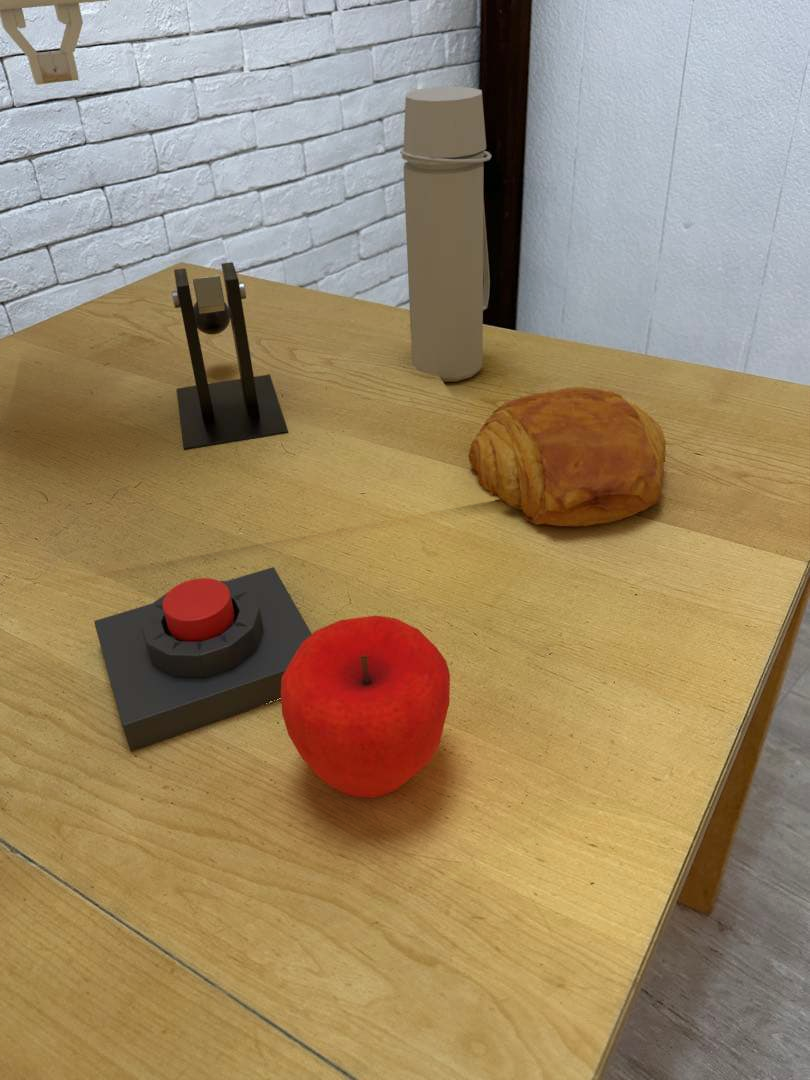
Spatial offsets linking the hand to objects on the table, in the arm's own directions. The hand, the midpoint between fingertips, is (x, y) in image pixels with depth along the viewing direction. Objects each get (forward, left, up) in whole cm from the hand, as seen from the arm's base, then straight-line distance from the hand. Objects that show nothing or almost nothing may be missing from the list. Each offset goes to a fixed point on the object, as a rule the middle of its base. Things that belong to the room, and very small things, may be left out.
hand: (56, 81), depth 64 cm
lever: (+9, +4, -21) cm, 23 cm away
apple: (+4, -43, -29) cm, 52 cm away
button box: (-2, -31, -29) cm, 43 cm away
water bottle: (+31, 0, -29) cm, 43 cm away
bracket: (+8, 0, -29) cm, 30 cm away
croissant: (+29, -24, -29) cm, 48 cm away
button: (-2, -31, -25) cm, 40 cm away
